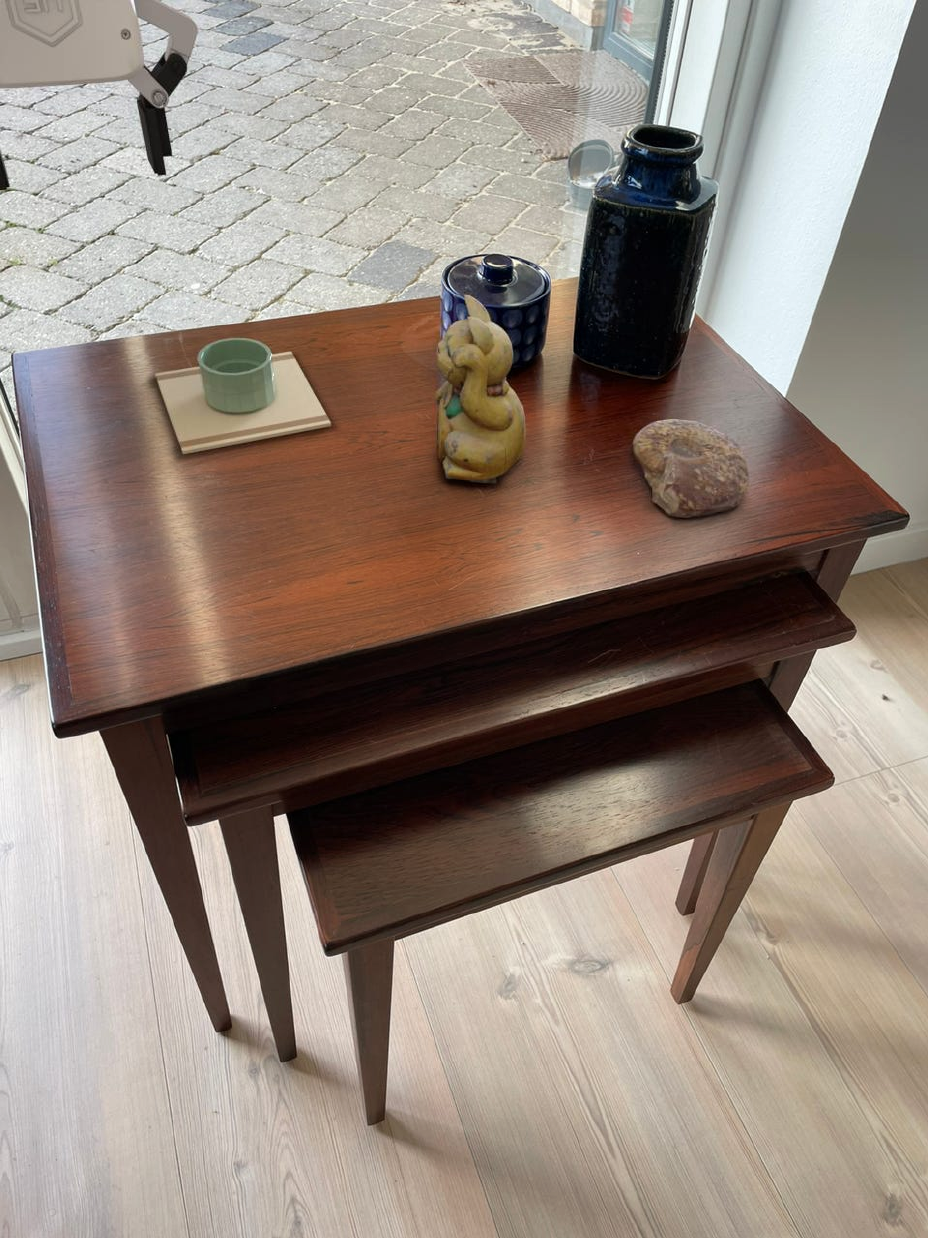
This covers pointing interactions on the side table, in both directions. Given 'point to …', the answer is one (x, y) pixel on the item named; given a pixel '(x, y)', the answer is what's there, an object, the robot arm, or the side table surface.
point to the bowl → (237, 374)
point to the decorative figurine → (477, 400)
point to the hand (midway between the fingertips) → (82, 175)
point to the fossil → (691, 467)
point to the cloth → (218, 428)
